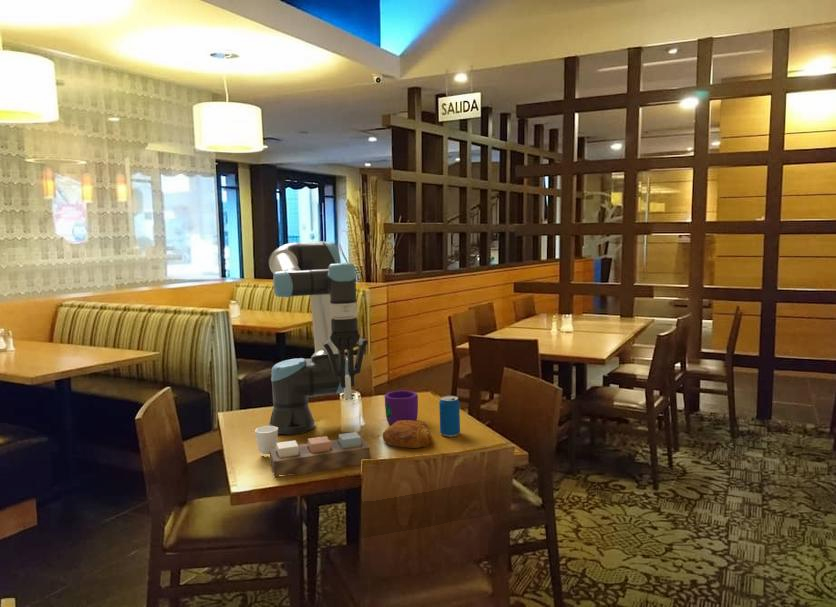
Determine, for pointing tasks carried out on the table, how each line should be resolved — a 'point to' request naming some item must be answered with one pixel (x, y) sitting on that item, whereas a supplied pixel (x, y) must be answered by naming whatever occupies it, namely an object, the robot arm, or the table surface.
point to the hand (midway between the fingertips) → (347, 398)
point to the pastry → (407, 434)
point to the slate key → (349, 440)
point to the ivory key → (287, 449)
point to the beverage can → (449, 416)
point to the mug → (401, 406)
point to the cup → (266, 438)
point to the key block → (318, 458)
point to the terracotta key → (318, 444)
